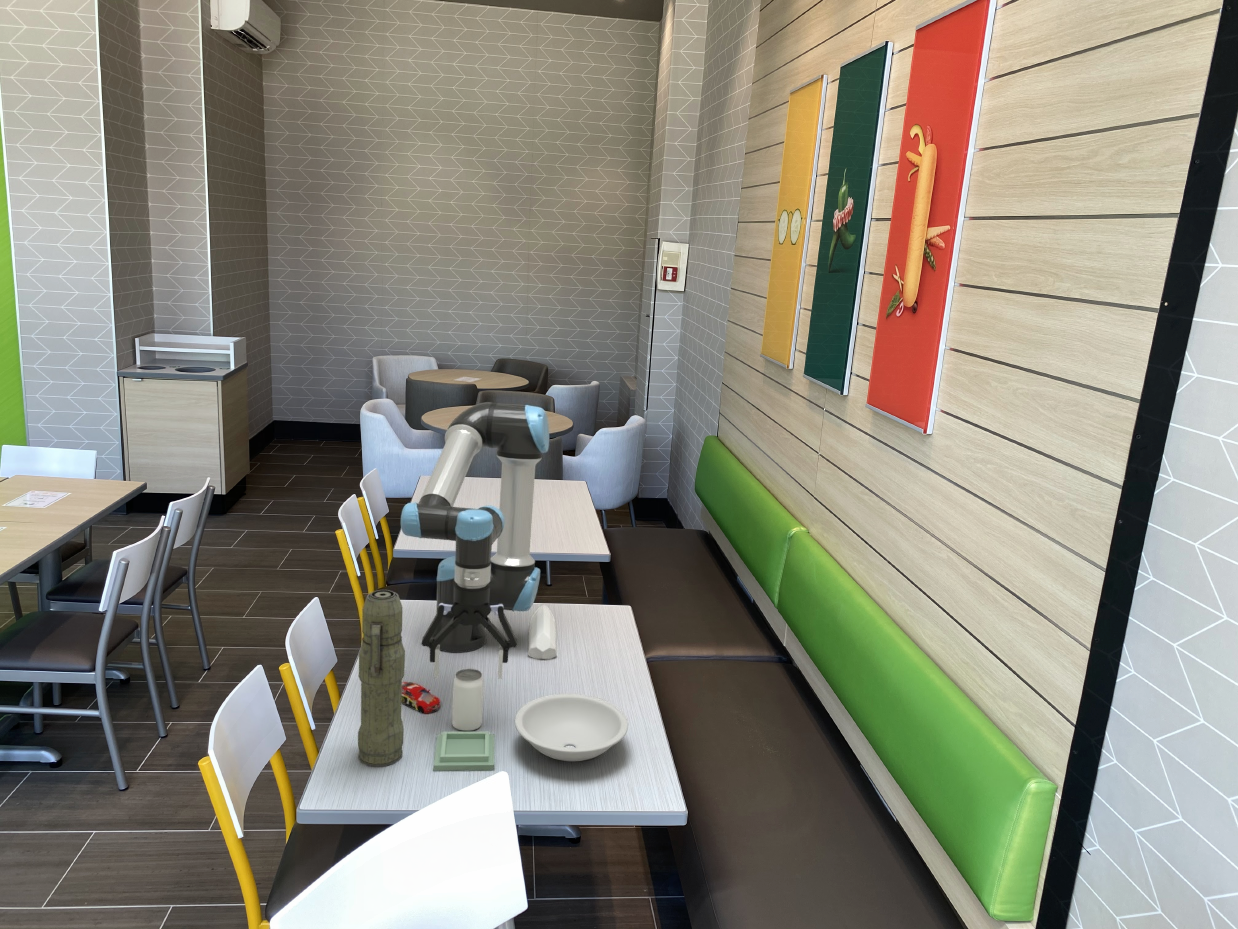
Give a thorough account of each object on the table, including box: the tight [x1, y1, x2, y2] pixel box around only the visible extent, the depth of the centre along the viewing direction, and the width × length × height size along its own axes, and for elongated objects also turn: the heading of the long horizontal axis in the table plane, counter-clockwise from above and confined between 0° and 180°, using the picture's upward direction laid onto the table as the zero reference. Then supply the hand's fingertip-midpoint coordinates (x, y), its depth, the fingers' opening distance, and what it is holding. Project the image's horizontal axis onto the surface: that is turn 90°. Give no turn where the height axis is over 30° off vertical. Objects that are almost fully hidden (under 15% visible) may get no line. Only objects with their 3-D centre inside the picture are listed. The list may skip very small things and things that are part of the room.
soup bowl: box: [514, 693, 629, 762], centre depth 185 cm, size 24×24×7 cm
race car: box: [401, 681, 441, 715], centre depth 200 cm, size 13×5×4 cm, turn 54°
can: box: [451, 668, 484, 732], centre depth 191 cm, size 6×6×12 cm
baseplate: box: [433, 731, 496, 772], centre depth 180 cm, size 12×12×2 cm
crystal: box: [527, 604, 558, 660], centre depth 237 cm, size 7×7×24 cm
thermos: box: [357, 589, 406, 768], centre depth 174 cm, size 9×12×35 cm
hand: (468, 676), depth 189 cm, fingers open, 13 cm apart
